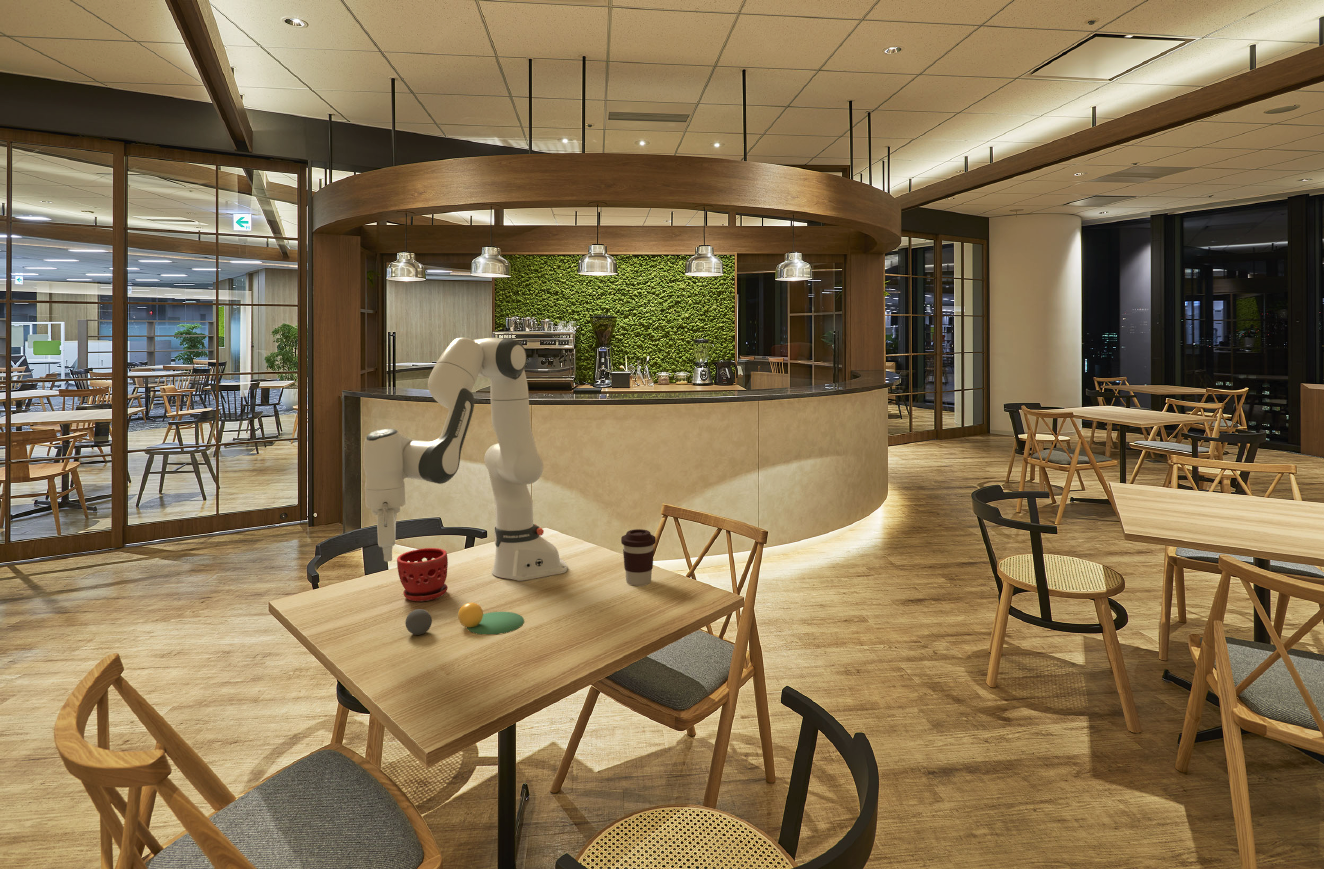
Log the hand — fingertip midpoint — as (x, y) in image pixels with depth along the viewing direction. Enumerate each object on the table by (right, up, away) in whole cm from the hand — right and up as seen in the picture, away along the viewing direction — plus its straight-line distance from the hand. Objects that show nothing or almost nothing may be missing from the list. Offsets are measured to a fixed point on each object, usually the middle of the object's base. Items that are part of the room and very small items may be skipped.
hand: (388, 554), depth 170 cm
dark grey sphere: (+7, -16, 0) cm, 18 cm away
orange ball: (+18, -16, +5) cm, 25 cm away
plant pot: (0, -16, +26) cm, 30 cm away
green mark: (+24, -18, +7) cm, 31 cm away
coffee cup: (+59, -14, +37) cm, 71 cm away
